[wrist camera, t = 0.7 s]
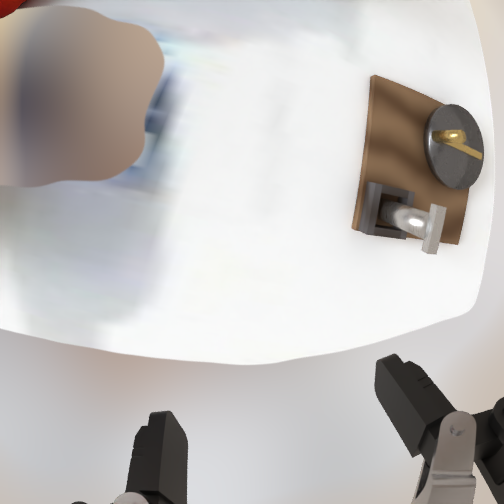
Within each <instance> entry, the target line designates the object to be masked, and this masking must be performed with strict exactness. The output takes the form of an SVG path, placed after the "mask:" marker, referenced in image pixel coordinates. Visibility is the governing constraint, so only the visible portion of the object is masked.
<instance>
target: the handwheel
mask: <svg viewBox="0 0 504 504" xmlns="http://www.w3.org/2000/svg"><path fill="white" fill-rule="evenodd" d="M423 146H424V153H425V157H426V161H427V164H428V166H429V168H430V170H431V172H432V174H433V175H434V177H435V178H436V179H437V180H438V181H439V182H440V183H441V184H442V185H444V186H446V187H449V188H453V189H457V190H463V189H466V188H469V187H470V186H472V185H473V184H474V183H475V181H476V180H477V178H478V177H479V174H480V172H481V169H482V165H483V159H484V146H483V140H482V136H481V132H480V129H479V127H478V125H477V123H476V121H475V119H474V118H473V117H472V115H471V114H470V113H469V112H468V111H467V110H466V109H464V108H463V107H461V106H459V105H454V104H450V105H442V106H439V107H437V108H435V109H434V110H433V111H432V112H431V113H430V115H429V117H428V118H427V121H426V124H425V128H424V134H423Z"/></svg>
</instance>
